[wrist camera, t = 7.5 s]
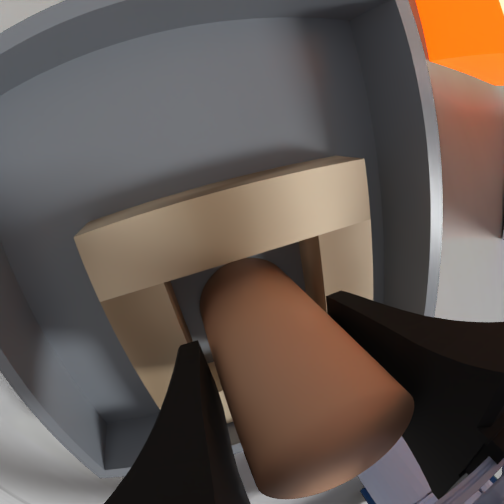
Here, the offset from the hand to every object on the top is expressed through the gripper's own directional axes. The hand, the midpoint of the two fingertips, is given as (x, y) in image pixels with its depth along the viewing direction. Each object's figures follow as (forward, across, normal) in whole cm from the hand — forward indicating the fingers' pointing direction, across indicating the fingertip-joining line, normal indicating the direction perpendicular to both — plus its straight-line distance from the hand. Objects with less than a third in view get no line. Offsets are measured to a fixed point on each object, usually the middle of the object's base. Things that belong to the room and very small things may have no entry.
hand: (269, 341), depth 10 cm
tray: (+4, +1, -3) cm, 5 cm away
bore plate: (+4, 0, 0) cm, 4 cm away
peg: (+3, 0, 0) cm, 3 cm away
